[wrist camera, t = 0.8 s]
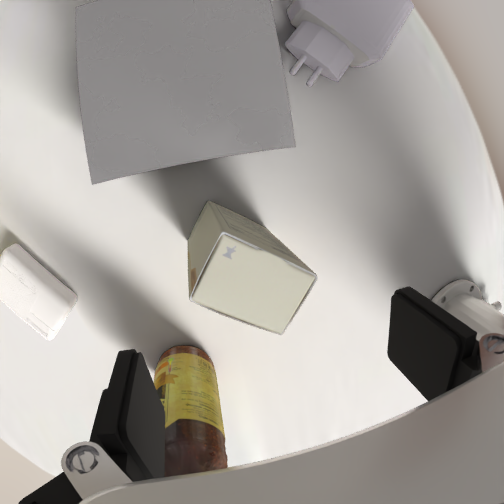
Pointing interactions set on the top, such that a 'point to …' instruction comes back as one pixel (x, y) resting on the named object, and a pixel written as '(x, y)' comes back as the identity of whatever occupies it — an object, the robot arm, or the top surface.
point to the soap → (34, 292)
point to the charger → (343, 33)
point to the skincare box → (245, 271)
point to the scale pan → (178, 83)
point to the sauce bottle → (190, 412)
